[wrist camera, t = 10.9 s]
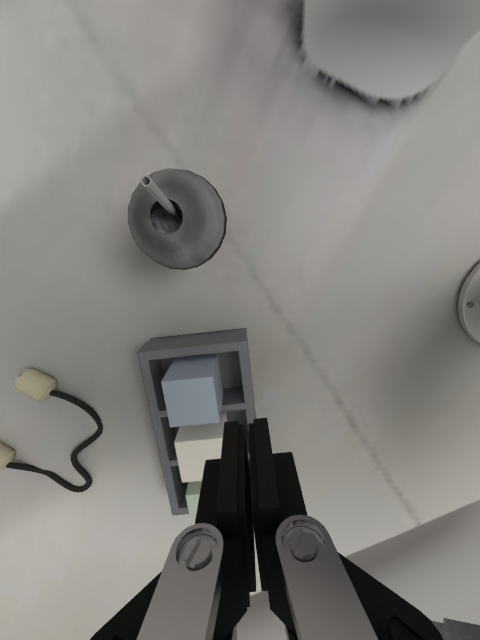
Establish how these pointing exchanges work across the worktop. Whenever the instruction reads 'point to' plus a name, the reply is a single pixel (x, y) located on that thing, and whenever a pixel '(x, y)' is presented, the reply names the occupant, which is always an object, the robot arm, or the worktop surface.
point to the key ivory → (198, 447)
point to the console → (234, 382)
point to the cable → (41, 389)
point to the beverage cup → (177, 218)
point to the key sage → (193, 499)
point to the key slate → (193, 390)
